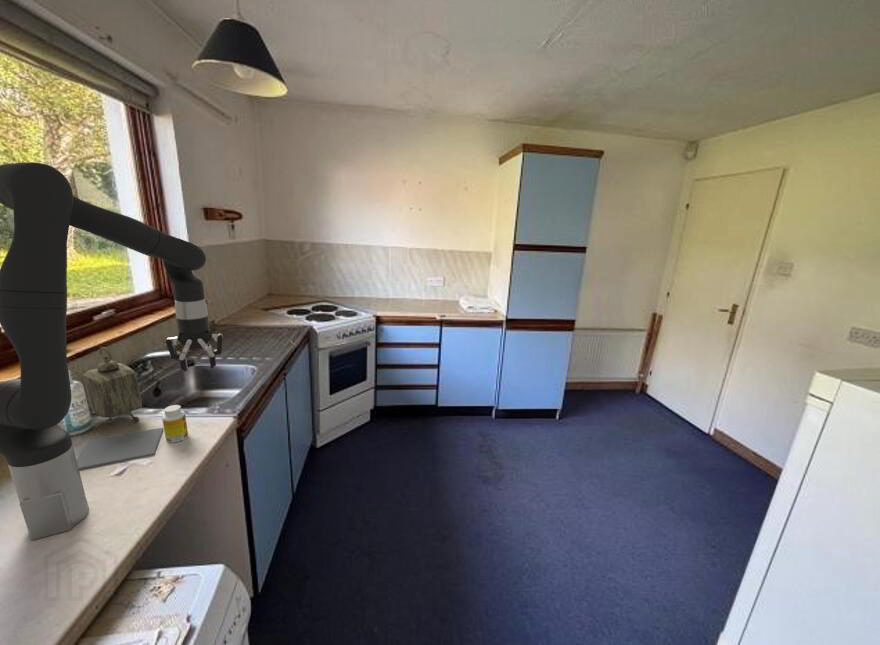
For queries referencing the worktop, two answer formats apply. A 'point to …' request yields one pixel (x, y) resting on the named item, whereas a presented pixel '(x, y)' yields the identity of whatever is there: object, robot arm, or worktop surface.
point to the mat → (119, 448)
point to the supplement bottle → (174, 424)
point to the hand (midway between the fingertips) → (199, 368)
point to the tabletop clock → (112, 389)
